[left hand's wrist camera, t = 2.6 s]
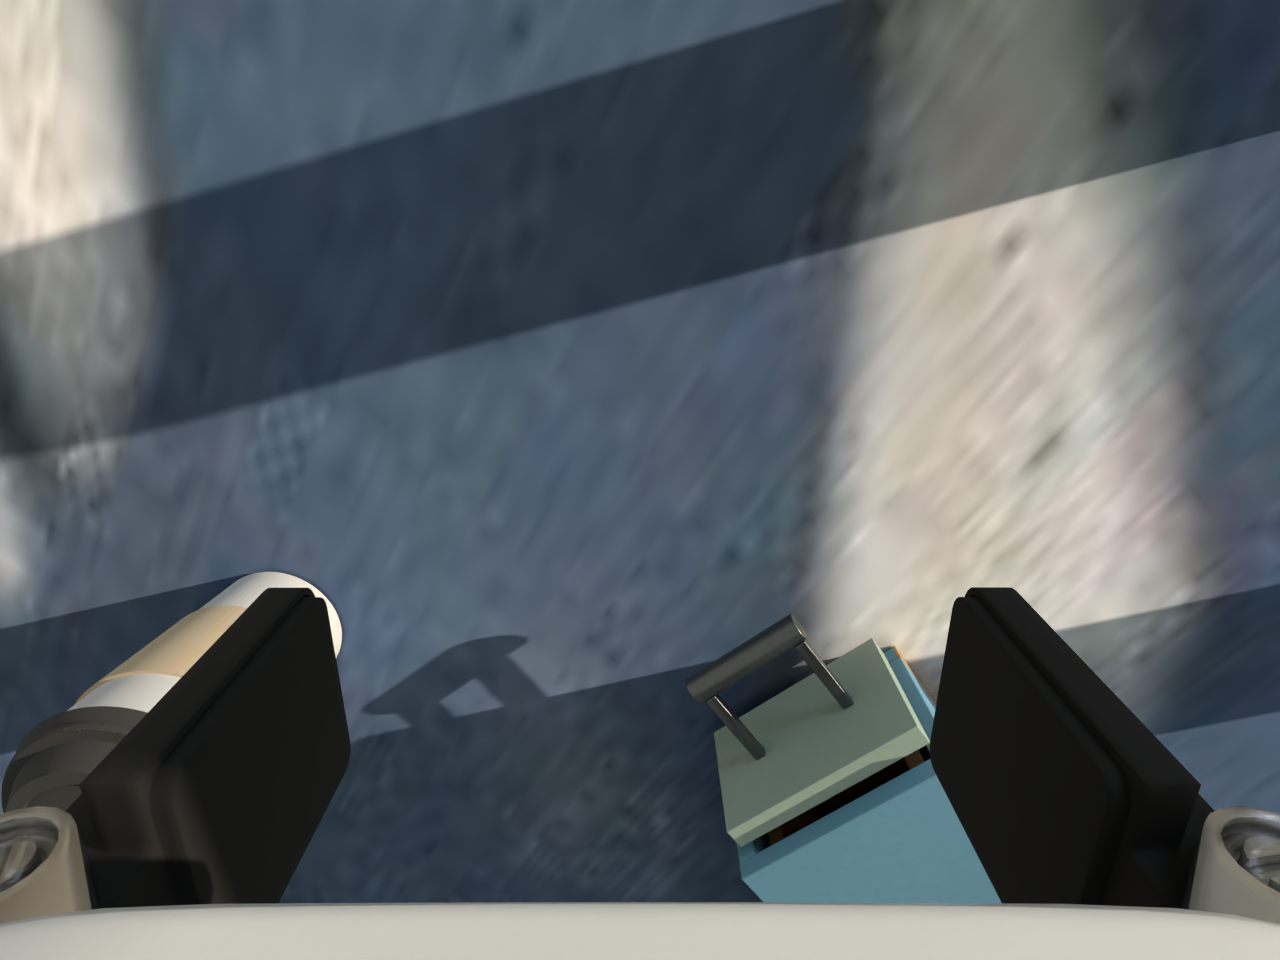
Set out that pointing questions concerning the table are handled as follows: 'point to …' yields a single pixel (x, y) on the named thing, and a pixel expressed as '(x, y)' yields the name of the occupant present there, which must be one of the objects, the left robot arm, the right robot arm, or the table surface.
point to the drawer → (807, 734)
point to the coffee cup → (127, 699)
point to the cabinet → (877, 840)
